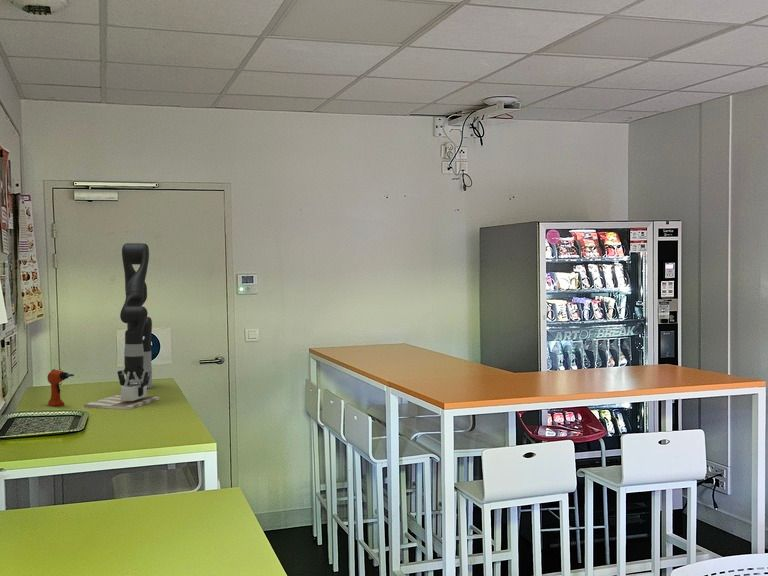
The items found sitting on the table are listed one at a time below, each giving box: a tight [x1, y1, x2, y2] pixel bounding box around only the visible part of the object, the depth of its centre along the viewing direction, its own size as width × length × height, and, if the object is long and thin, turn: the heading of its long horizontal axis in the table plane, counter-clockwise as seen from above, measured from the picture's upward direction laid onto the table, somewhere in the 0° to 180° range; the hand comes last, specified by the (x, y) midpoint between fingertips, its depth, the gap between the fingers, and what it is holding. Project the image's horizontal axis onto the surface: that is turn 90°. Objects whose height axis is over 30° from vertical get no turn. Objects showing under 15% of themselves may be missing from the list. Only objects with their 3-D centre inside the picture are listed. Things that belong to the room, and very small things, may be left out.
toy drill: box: [47, 368, 75, 408], centre depth 311 cm, size 5×19×15 cm, turn 51°
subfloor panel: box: [83, 394, 160, 411], centre depth 319 cm, size 24×20×1 cm
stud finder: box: [120, 383, 148, 401], centre depth 318 cm, size 12×5×6 cm, turn 168°
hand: (134, 395), depth 318 cm, fingers closed on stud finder, 5 cm apart
